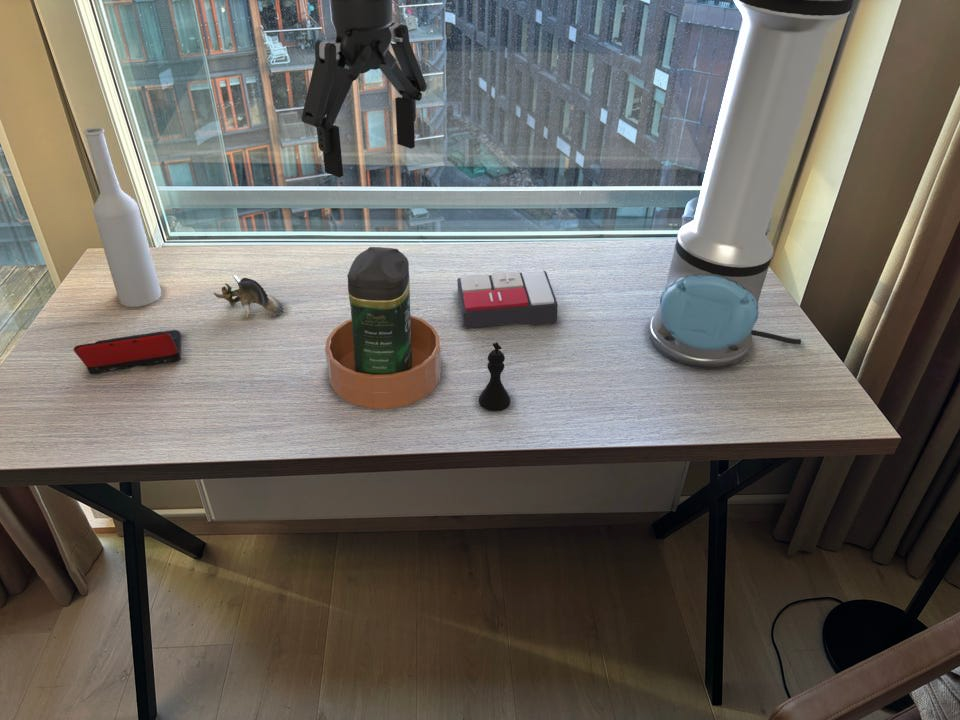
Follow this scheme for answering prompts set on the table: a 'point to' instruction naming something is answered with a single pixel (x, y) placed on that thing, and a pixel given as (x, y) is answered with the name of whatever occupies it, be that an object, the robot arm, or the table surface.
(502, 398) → the chess piece
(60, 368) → the table surface
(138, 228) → the bottle
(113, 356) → the handheld console
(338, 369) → the pot
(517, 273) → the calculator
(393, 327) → the coffee jar
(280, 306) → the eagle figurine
